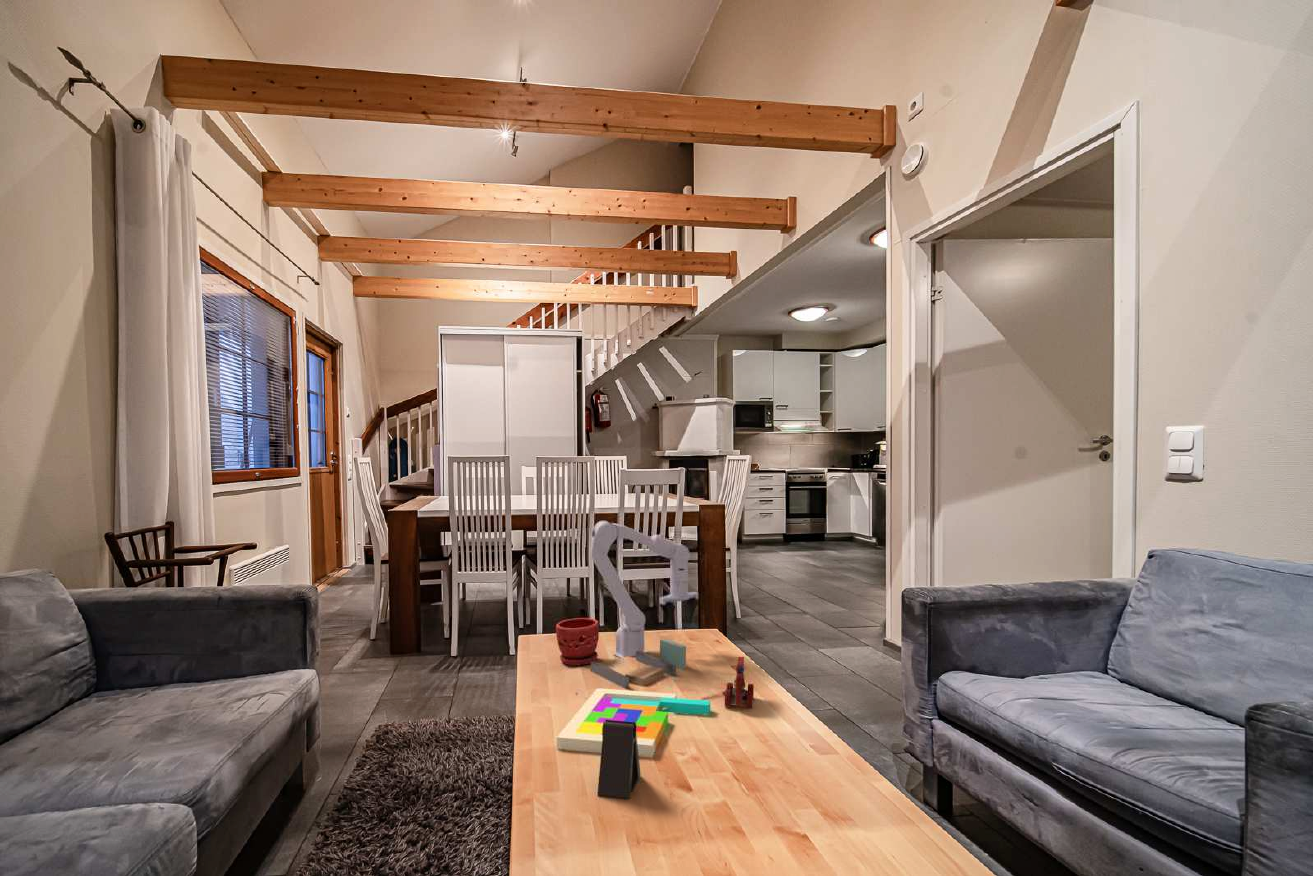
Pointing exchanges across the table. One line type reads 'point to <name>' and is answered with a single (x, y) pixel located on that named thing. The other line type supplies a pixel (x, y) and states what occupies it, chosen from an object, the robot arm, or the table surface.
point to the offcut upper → (645, 675)
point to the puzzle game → (625, 718)
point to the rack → (624, 680)
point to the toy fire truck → (739, 689)
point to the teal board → (673, 653)
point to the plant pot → (578, 640)
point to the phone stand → (618, 759)
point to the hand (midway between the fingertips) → (679, 623)
